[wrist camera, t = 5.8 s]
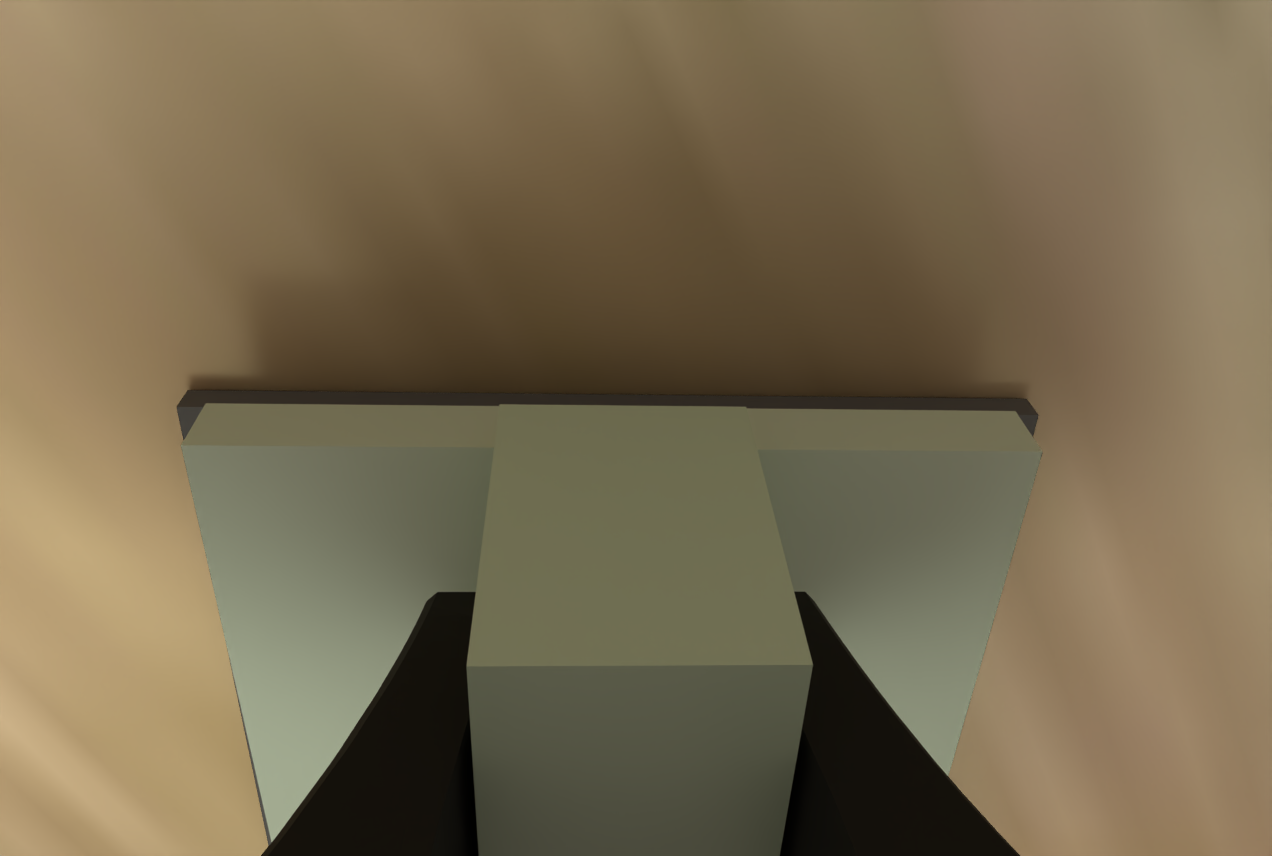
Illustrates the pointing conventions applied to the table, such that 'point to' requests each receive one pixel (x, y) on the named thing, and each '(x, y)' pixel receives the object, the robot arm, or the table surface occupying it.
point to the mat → (198, 398)
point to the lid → (605, 593)
